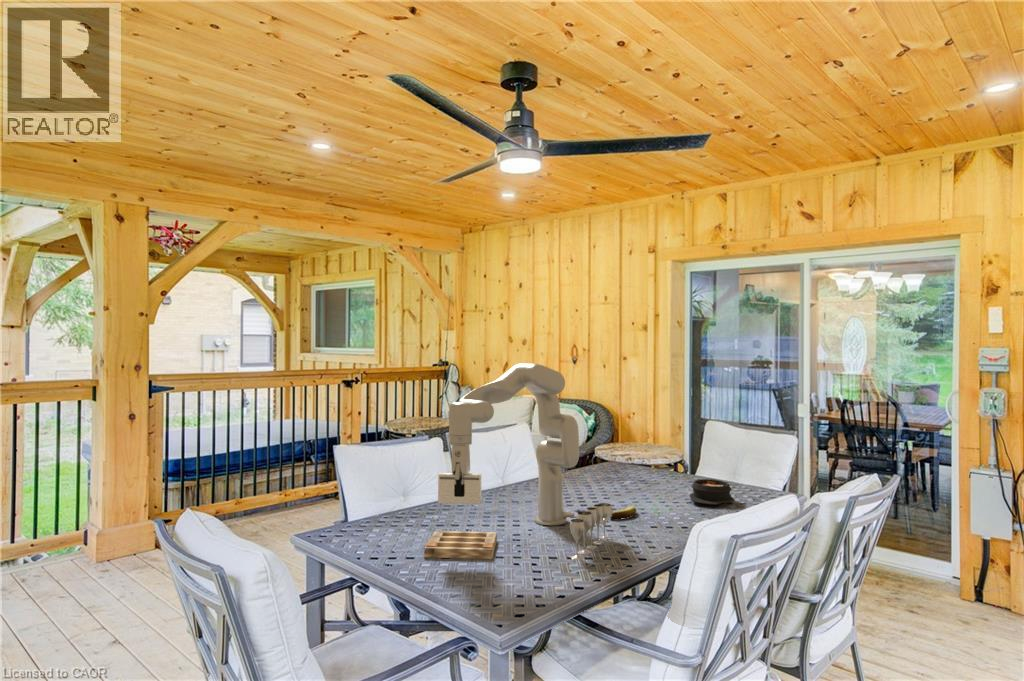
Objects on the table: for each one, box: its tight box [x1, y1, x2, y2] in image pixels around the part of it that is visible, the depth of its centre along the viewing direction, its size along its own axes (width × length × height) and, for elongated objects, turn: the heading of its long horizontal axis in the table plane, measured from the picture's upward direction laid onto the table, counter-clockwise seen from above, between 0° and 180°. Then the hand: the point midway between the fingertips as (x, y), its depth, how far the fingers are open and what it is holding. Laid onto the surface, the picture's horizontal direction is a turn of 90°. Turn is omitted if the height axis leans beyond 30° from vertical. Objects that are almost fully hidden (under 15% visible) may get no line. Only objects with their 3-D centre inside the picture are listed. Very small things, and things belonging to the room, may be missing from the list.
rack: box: [423, 530, 498, 560], centre depth 200 cm, size 22×18×3 cm
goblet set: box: [569, 502, 613, 561], centre depth 202 cm, size 28×6×13 cm, turn 148°
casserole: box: [689, 478, 734, 506], centre depth 263 cm, size 25×19×8 cm
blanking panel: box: [437, 472, 482, 505], centre depth 195 cm, size 14×3×10 cm, turn 86°
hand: (460, 494), depth 195 cm, fingers closed on blanking panel, 2 cm apart
